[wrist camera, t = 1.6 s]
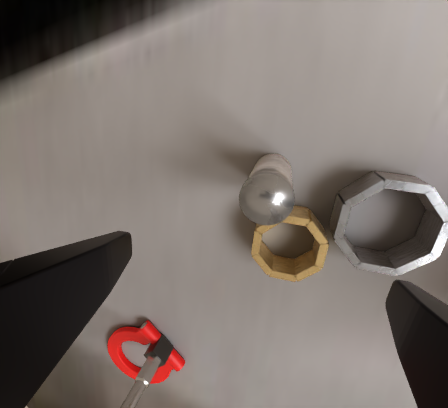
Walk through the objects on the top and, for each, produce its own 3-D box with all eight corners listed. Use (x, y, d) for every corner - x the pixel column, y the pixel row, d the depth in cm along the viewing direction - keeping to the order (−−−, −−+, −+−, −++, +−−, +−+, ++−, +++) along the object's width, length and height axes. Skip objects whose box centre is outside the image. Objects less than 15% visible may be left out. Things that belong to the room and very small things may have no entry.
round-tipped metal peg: (295, 155, 20) (299, 177, 14) (288, 193, 22) (289, 229, 15) (256, 150, 21) (242, 169, 15) (251, 187, 22) (236, 220, 16)
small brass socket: (329, 211, 21) (334, 223, 19) (314, 268, 23) (317, 286, 21) (260, 199, 22) (257, 210, 20) (252, 256, 24) (248, 272, 22)
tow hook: (144, 381, 35) (192, 363, 31) (66, 521, 23) (129, 520, 20) (101, 336, 34) (146, 311, 30) (-3, 459, 22) (49, 445, 18)
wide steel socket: (447, 180, 19) (469, 190, 16) (412, 263, 21) (427, 282, 19) (343, 166, 20) (351, 174, 18) (322, 247, 23) (326, 262, 20)
